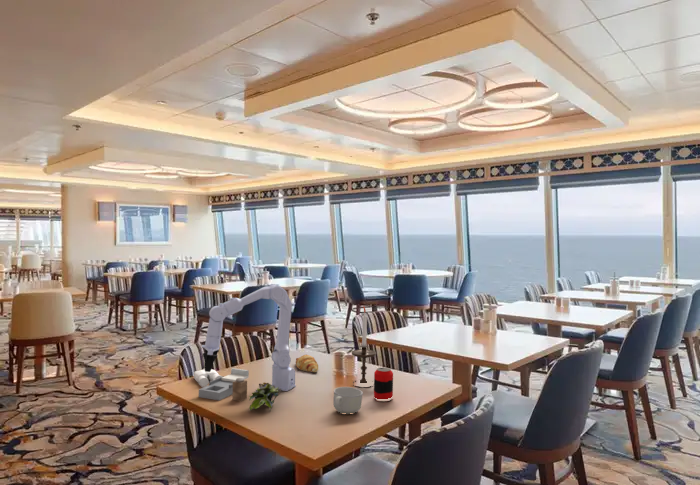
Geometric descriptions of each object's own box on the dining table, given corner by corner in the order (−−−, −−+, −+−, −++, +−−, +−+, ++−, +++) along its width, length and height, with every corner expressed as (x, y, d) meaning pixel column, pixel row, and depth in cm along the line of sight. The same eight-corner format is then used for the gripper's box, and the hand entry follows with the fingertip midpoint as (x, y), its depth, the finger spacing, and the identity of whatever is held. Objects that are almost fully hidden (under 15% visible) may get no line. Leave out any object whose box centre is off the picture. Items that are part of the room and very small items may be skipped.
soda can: (386, 395, 200) (387, 366, 200) (396, 400, 194) (396, 370, 194) (370, 397, 197) (371, 368, 197) (379, 403, 190) (380, 372, 190)
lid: (248, 377, 210) (248, 370, 210) (237, 382, 203) (237, 375, 203) (232, 375, 213) (232, 368, 213) (221, 380, 206) (221, 372, 206)
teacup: (345, 405, 188) (346, 384, 188) (368, 411, 181) (368, 390, 181) (321, 414, 177) (321, 392, 177) (344, 422, 170) (344, 399, 170)
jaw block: (246, 398, 194) (247, 378, 194) (241, 401, 190) (241, 380, 190) (238, 396, 195) (238, 376, 195) (232, 399, 191) (232, 379, 191)
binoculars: (199, 388, 206) (199, 377, 206) (190, 378, 220) (191, 368, 220) (223, 385, 211) (223, 374, 211) (214, 375, 225) (214, 365, 225)
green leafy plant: (263, 419, 186) (276, 389, 192) (276, 422, 177) (291, 391, 183) (239, 406, 181) (254, 376, 187) (252, 409, 173) (267, 377, 178)
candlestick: (346, 383, 216) (347, 305, 216) (365, 379, 222) (366, 303, 222) (361, 389, 207) (362, 308, 207) (380, 385, 213) (382, 306, 213)
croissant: (321, 380, 232) (328, 364, 234) (305, 372, 228) (312, 357, 229) (301, 369, 250) (308, 354, 252) (285, 362, 245) (293, 347, 247)
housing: (243, 389, 205) (243, 379, 205) (219, 400, 190) (220, 389, 190) (222, 385, 209) (222, 376, 209) (197, 396, 194) (198, 386, 194)
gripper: (205, 331, 204) (199, 364, 203) (202, 337, 190) (196, 372, 189) (222, 333, 205) (217, 365, 204) (220, 339, 191) (214, 374, 190)
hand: (208, 369), depth 197 cm, fingers open, 7 cm apart
